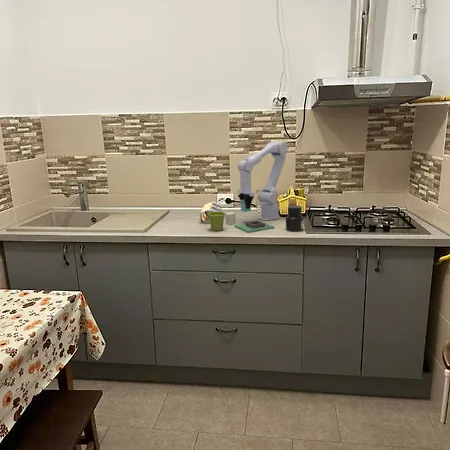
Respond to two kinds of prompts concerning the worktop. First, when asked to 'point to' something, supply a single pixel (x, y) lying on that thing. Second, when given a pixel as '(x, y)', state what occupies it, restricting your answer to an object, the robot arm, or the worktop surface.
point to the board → (254, 226)
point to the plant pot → (216, 220)
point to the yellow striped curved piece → (209, 209)
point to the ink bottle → (294, 219)
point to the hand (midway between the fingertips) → (246, 207)
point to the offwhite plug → (230, 218)
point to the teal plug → (244, 206)
